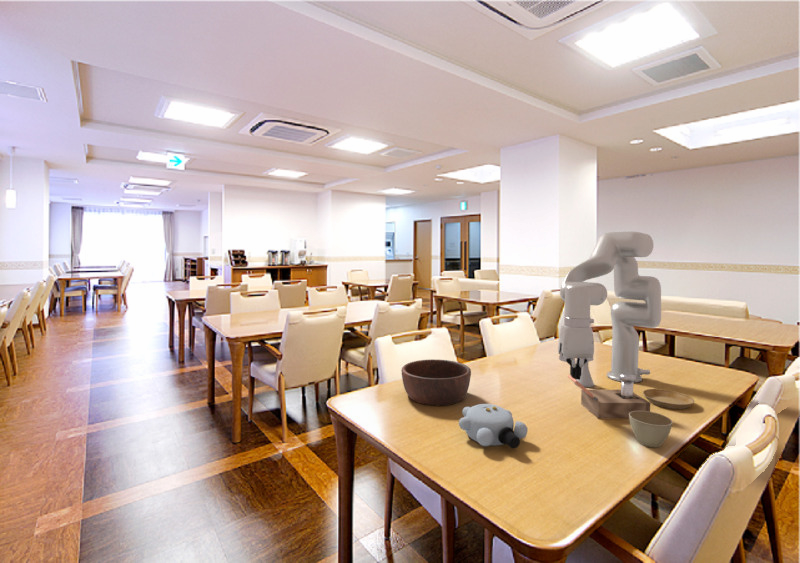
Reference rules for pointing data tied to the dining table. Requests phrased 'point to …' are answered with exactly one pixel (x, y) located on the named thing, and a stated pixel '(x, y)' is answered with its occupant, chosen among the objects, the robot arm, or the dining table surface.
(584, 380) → the flask
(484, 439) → the figurine
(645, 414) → the beige bowl
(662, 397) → the plant saucer
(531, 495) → the dining table surface
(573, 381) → the plate
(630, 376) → the pin
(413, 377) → the wooden bowl
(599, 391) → the block
